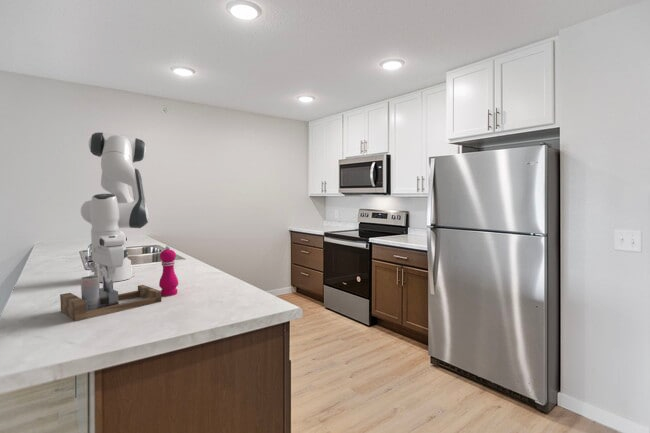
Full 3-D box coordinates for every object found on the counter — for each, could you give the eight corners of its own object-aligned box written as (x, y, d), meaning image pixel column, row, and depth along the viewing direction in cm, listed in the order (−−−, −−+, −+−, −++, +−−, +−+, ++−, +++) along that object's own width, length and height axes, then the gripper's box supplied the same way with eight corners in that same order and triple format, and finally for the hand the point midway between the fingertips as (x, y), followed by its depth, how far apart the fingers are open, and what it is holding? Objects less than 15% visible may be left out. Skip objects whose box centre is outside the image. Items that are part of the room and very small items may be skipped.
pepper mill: (171, 296, 143) (170, 247, 142) (155, 296, 145) (153, 246, 144) (182, 292, 150) (180, 244, 149) (166, 291, 152) (165, 244, 151)
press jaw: (98, 304, 132) (97, 264, 132) (108, 302, 135) (106, 263, 134) (109, 310, 126) (107, 267, 125) (119, 307, 128) (117, 266, 128)
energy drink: (98, 307, 130) (96, 274, 129) (102, 310, 126) (100, 277, 126) (80, 311, 126) (79, 277, 126) (84, 314, 123) (82, 279, 122)
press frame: (60, 311, 126) (60, 294, 126) (143, 294, 147) (142, 279, 147) (75, 321, 116) (74, 303, 115) (161, 301, 137) (160, 286, 137)
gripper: (86, 237, 133) (87, 274, 134) (106, 242, 120) (108, 282, 121) (105, 236, 138) (106, 271, 139) (126, 240, 125) (128, 279, 126)
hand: (107, 277), depth 130 cm, fingers open, 5 cm apart
